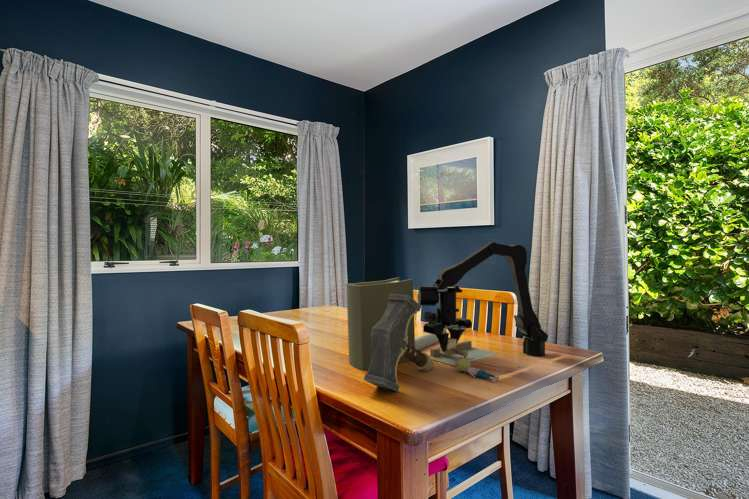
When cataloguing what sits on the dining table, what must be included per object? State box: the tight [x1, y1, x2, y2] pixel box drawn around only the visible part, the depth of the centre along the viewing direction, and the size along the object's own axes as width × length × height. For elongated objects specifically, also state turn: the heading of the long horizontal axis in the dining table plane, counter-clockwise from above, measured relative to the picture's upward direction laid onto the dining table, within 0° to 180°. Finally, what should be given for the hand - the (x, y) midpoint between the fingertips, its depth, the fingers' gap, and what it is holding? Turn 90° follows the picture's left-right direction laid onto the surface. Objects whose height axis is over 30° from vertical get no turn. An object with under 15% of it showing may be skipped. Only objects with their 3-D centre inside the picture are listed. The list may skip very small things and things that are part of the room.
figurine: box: [455, 357, 500, 384], centre depth 126 cm, size 6×4×15 cm
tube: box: [415, 333, 439, 351], centre depth 160 cm, size 5×5×25 cm
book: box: [346, 276, 416, 371], centre depth 141 cm, size 22×9×28 cm, turn 121°
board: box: [428, 340, 499, 369], centre depth 146 cm, size 14×22×3 cm, turn 127°
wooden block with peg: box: [439, 336, 468, 358], centre depth 141 cm, size 10×4×5 cm, turn 37°
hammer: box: [363, 294, 434, 393], centre depth 122 cm, size 27×9×30 cm
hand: (448, 350), depth 144 cm, fingers closed on wooden block with peg, 4 cm apart
